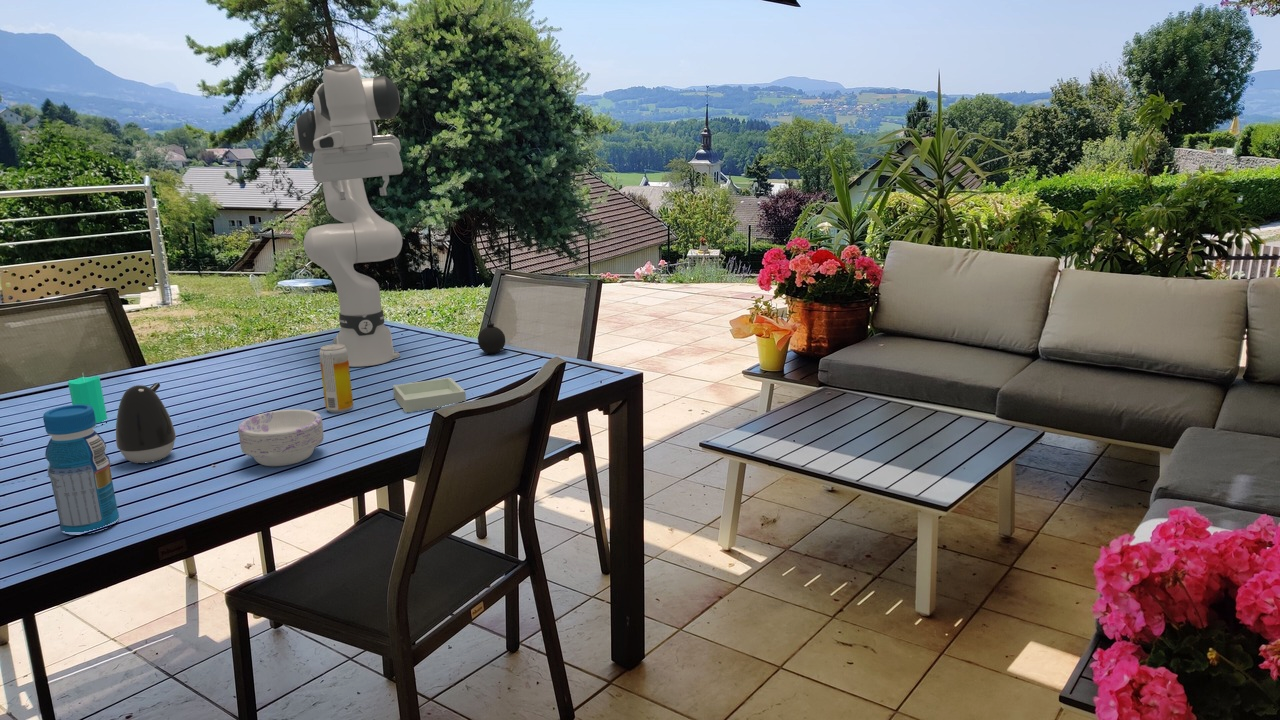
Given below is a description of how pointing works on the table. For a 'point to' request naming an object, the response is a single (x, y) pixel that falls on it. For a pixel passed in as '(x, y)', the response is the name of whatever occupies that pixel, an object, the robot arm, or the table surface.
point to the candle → (88, 395)
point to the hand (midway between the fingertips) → (363, 197)
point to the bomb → (491, 339)
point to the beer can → (336, 378)
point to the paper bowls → (281, 436)
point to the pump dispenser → (144, 426)
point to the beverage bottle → (79, 469)
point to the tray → (428, 394)
